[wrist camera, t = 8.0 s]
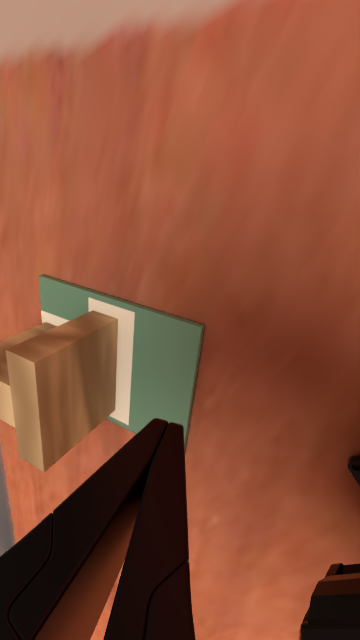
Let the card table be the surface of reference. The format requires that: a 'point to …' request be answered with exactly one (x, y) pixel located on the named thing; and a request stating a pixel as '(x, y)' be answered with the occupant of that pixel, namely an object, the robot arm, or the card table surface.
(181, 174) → the card table surface
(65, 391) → the oak t block
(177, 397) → the board
